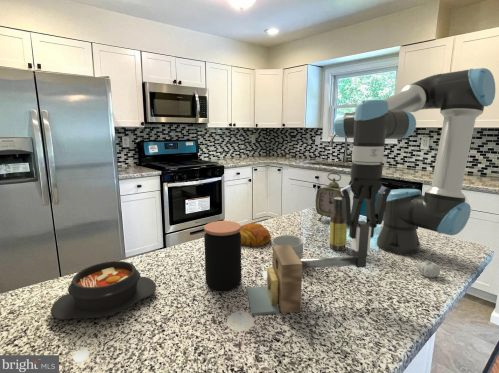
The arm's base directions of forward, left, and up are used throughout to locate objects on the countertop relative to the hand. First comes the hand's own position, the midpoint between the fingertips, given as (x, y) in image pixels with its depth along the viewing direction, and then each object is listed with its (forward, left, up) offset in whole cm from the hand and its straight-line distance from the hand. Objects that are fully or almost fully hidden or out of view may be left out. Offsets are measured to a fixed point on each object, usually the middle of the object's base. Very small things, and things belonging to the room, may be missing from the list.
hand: (360, 248), depth 79 cm
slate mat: (+27, 0, -14) cm, 30 cm away
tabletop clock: (-19, -64, -14) cm, 68 cm away
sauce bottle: (-8, -32, -14) cm, 36 cm away
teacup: (+14, -24, -14) cm, 31 cm away
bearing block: (+20, 0, -14) cm, 25 cm away
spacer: (+24, 0, -13) cm, 27 cm away
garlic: (-28, -7, -14) cm, 32 cm away
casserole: (+68, -4, -14) cm, 70 cm away
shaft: (+9, 0, -5) cm, 10 cm away
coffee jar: (+37, -10, -14) cm, 41 cm away
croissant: (+24, -43, -14) cm, 51 cm away
